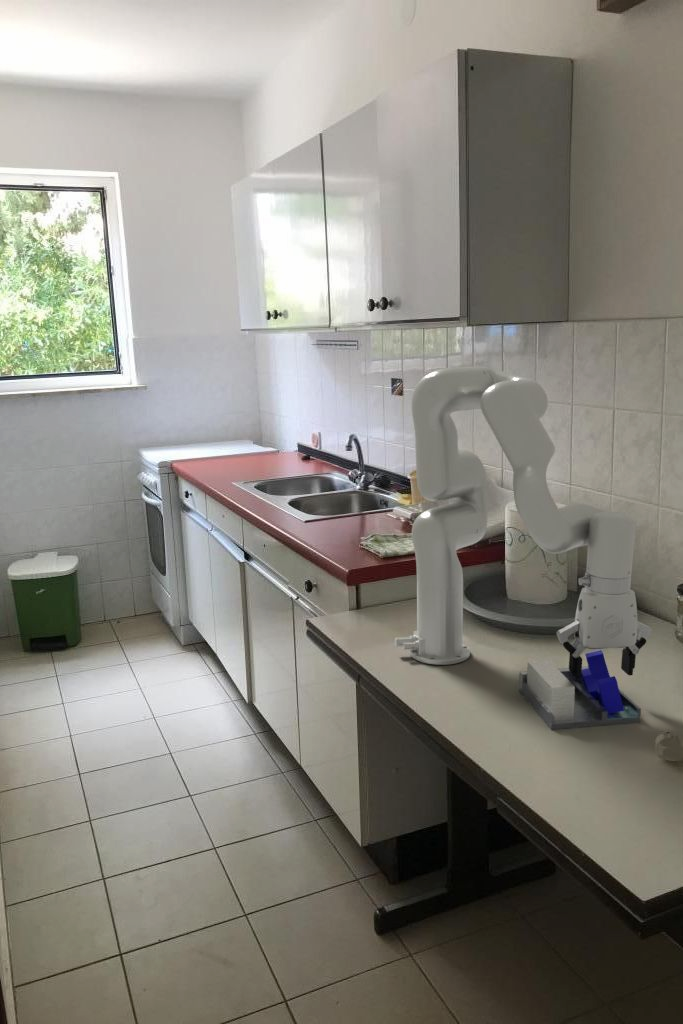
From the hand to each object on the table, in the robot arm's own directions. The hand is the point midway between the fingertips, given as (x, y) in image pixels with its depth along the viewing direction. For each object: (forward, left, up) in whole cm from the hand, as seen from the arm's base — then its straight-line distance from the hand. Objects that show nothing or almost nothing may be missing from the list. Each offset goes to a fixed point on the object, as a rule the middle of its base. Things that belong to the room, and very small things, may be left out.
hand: (601, 673), depth 150 cm
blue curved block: (0, -1, -4) cm, 4 cm away
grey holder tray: (-4, 0, -6) cm, 7 cm away
